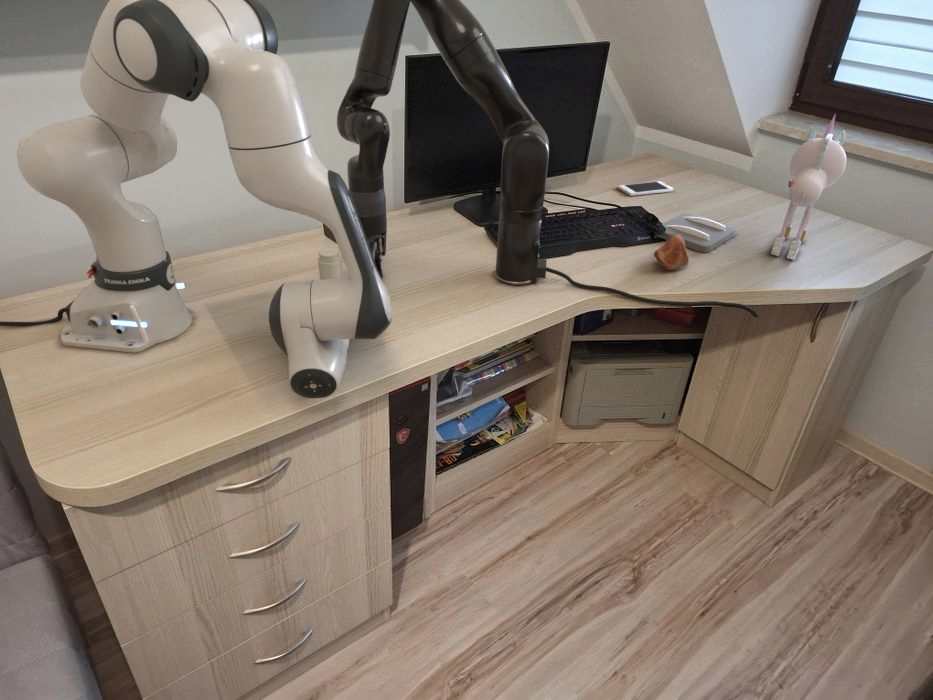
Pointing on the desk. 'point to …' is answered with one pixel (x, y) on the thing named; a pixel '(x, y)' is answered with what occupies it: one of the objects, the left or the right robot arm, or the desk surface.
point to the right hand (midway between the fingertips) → (371, 282)
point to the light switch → (698, 231)
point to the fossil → (672, 253)
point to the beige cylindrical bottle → (329, 264)
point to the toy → (811, 180)
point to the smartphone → (645, 188)
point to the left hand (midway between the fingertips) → (333, 292)
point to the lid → (380, 271)
